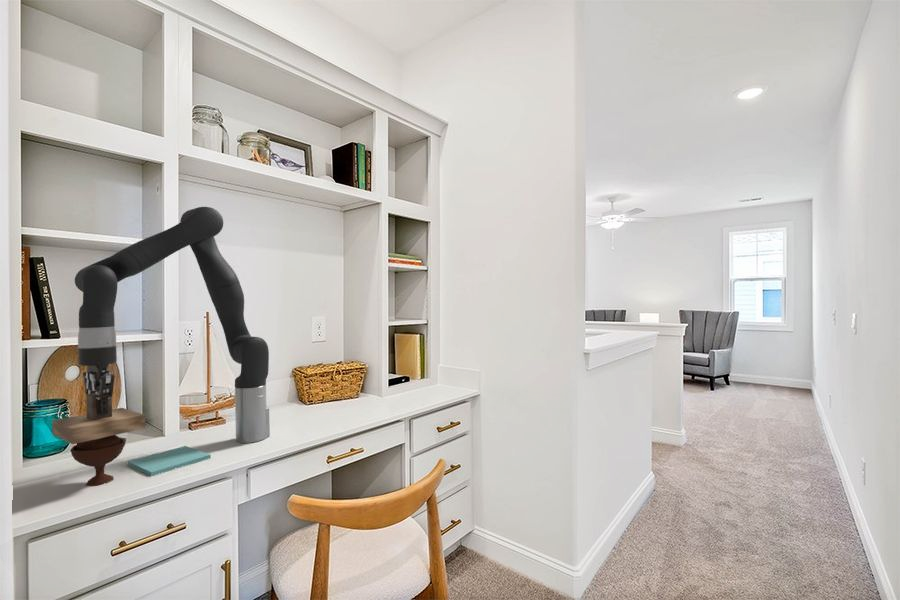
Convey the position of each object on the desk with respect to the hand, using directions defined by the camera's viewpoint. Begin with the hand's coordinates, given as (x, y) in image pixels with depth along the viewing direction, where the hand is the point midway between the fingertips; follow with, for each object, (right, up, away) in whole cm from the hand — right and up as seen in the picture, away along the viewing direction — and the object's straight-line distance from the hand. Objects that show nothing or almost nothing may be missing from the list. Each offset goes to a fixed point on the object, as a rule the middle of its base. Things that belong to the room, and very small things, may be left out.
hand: (99, 413), depth 111 cm
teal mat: (+9, -17, +13) cm, 23 cm away
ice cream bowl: (0, -17, 0) cm, 17 cm away
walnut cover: (0, -5, 0) cm, 5 cm away
